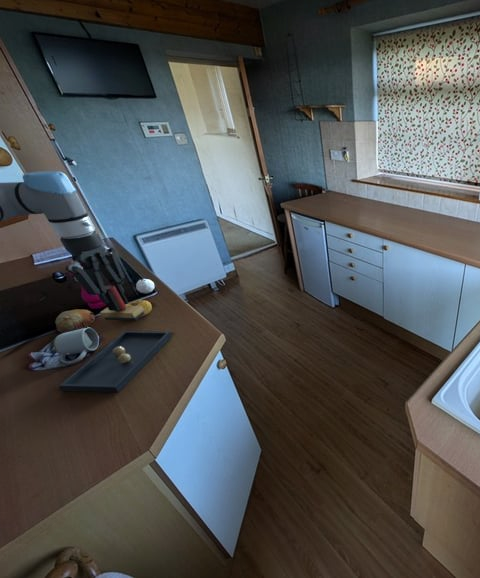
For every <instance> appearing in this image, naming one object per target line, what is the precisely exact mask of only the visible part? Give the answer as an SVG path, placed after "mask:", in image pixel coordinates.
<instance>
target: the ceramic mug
mask: <svg viewBox="0 0 480 578" xmlns="http://www.w3.org/2000/svg"><path fill="white" fill-rule="evenodd" d="M99 345H100V339H99V335H98V333H97V332H96V330H95V329H94V328H92V327H90V326H88V327H87V328H83V329H79V330H75V331H71V332H66V333H60V334H58V335H57V336H55V337H54V339H53V345H52V346H53V348H54V350H55V352H56V353H57V354H58V355H59V359H60V361H61V362H62V363H63V364H66V365H73V364H77V363H79V362H81V361H83V360H84V358H85V357H86V355H87V353H89V352H93V351H96V350H97V349H98V347H99ZM67 353H69V354H67ZM77 354H79V356H78V357H77V358H75V359H73V360H66V356H72V355H77Z"/></svg>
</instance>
